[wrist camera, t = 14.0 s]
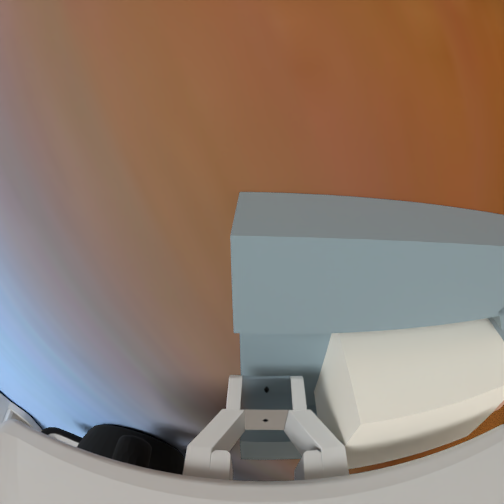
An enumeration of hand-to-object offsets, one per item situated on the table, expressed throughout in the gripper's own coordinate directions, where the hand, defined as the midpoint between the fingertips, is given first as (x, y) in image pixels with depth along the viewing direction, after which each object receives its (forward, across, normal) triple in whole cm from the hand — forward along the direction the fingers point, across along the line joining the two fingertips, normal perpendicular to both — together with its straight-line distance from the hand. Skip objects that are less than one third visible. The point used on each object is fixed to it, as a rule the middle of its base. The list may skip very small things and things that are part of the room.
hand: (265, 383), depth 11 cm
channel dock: (+2, -9, 0) cm, 9 cm away
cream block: (+1, -6, 0) cm, 7 cm away
